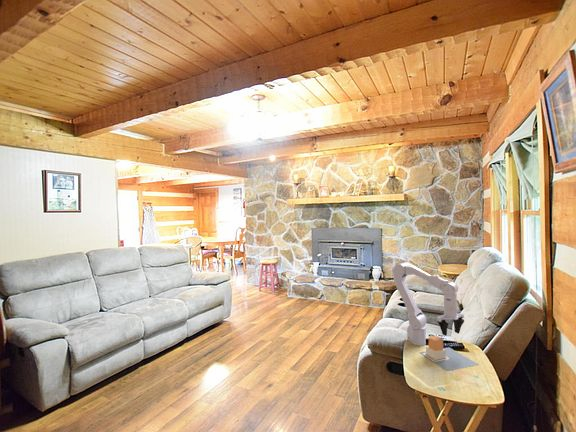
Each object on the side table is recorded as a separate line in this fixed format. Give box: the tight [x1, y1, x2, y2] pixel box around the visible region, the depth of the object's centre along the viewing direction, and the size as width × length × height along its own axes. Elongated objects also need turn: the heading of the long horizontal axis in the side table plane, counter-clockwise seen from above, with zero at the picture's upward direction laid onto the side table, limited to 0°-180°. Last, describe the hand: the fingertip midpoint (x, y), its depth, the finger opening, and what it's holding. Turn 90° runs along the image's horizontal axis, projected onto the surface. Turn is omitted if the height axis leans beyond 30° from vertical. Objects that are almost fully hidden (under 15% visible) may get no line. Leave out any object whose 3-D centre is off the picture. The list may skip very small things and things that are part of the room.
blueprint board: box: [419, 346, 480, 372], centre depth 146 cm, size 18×18×1 cm
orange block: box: [428, 335, 444, 351], centre depth 148 cm, size 4×4×5 cm
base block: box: [425, 345, 446, 360], centre depth 148 cm, size 6×6×4 cm
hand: (450, 333), depth 151 cm, fingers open, 7 cm apart
